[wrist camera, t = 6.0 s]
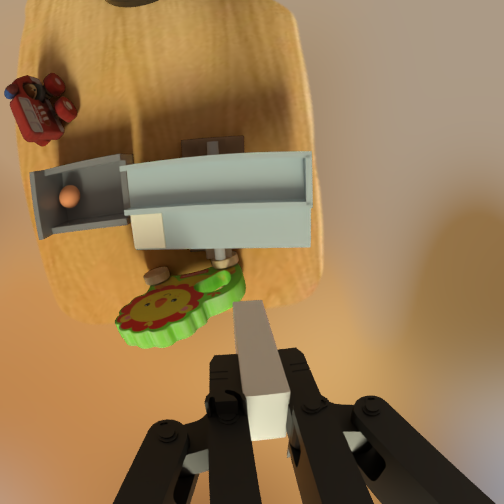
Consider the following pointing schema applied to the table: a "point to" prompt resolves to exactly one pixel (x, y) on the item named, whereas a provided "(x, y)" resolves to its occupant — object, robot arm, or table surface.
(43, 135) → the toy fire truck
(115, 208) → the pulled-out tray drawer
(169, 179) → the lever
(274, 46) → the table surface
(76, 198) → the ball
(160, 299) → the toy lion
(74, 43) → the table surface
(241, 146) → the stand
